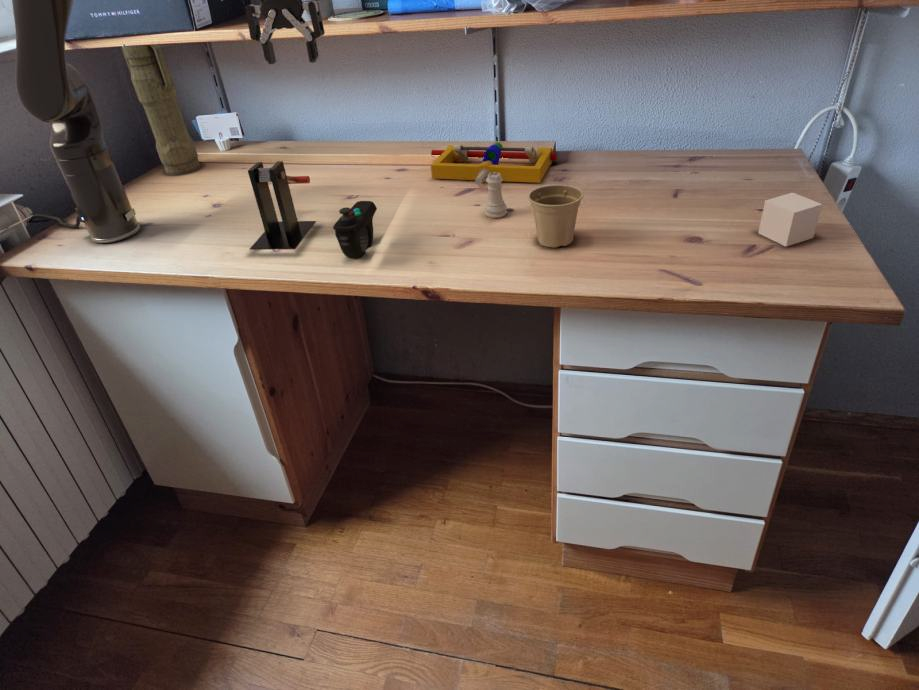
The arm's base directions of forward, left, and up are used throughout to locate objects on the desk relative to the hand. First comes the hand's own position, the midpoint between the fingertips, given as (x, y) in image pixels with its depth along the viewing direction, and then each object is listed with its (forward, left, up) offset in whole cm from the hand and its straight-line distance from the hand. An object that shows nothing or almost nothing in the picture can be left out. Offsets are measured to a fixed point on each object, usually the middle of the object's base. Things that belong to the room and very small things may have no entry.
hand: (292, 62), depth 123 cm
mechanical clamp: (+30, +21, -28) cm, 46 cm away
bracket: (+8, -21, -27) cm, 35 cm away
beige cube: (+93, +9, -28) cm, 97 cm away
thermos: (-48, +3, -28) cm, 56 cm away
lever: (+6, -17, -18) cm, 25 cm away
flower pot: (+57, -5, -28) cm, 63 cm away
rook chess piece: (+42, +2, -28) cm, 50 cm away
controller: (+26, -21, -28) cm, 43 cm away
